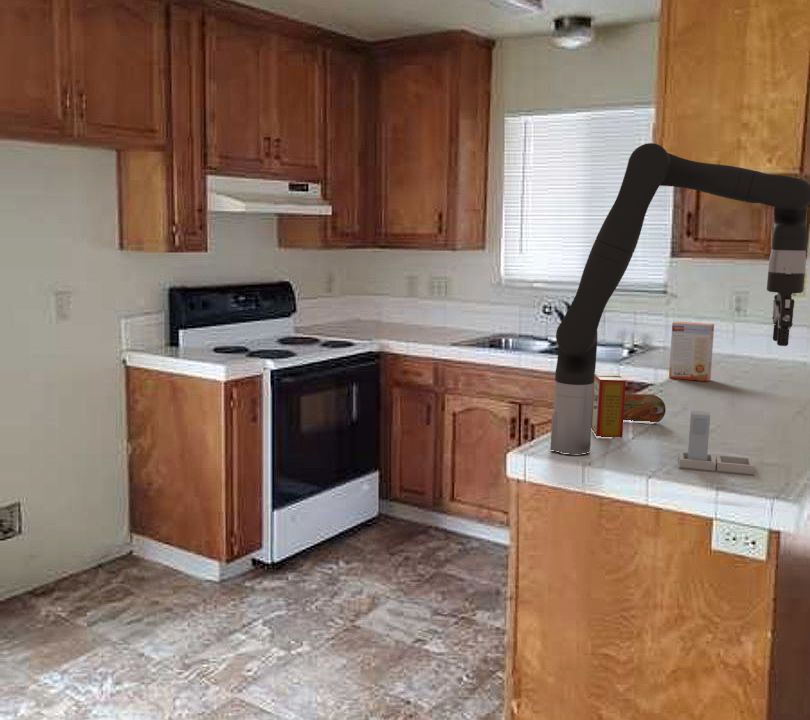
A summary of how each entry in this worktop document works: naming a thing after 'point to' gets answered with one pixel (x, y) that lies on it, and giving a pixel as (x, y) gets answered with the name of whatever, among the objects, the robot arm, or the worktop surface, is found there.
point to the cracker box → (691, 351)
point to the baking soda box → (608, 405)
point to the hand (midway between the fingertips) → (780, 343)
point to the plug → (699, 435)
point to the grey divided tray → (718, 464)
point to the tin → (643, 407)
